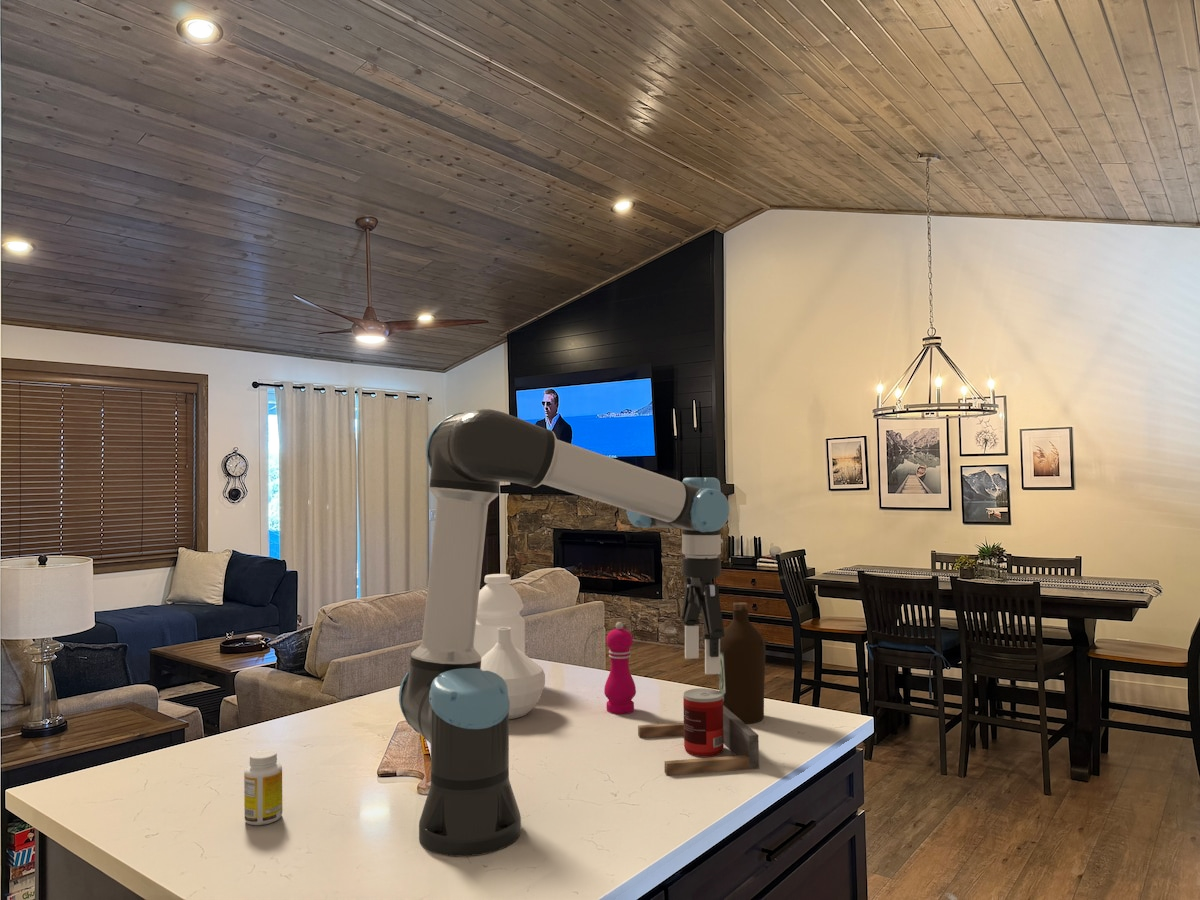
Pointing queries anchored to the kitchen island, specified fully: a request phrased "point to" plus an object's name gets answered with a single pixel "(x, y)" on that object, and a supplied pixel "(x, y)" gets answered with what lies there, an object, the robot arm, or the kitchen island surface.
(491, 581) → the bottle
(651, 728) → the guide lane
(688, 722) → the canned food
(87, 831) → the kitchen island surface
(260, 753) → the supplement bottle
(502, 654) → the vase
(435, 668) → the robot arm
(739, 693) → the olive oil
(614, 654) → the pepper mill
